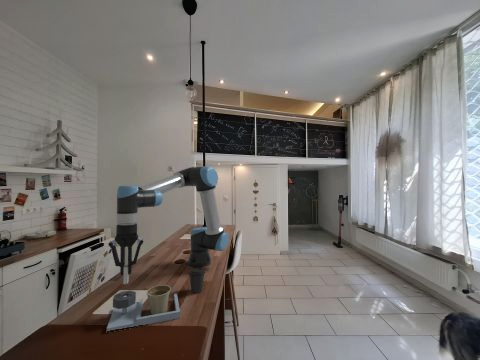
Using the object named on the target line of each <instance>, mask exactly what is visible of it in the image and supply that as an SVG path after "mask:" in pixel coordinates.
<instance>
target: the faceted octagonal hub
mask: <svg viewBox="0 0 480 360" xmlns="http://www.w3.org/2000/svg"><path fill="white" fill-rule="evenodd" d="M123 296H127V297H123ZM112 298H113V299H112V307H113V309H114V308H117V309H122V308H128V307H130V306H131V305H133V304H135V302H137V301H136V300H137V299H136V298H137V292H136V291H134V290H125V291H120V292H118V293H115V294H114V295H113V297H112Z"/></svg>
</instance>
